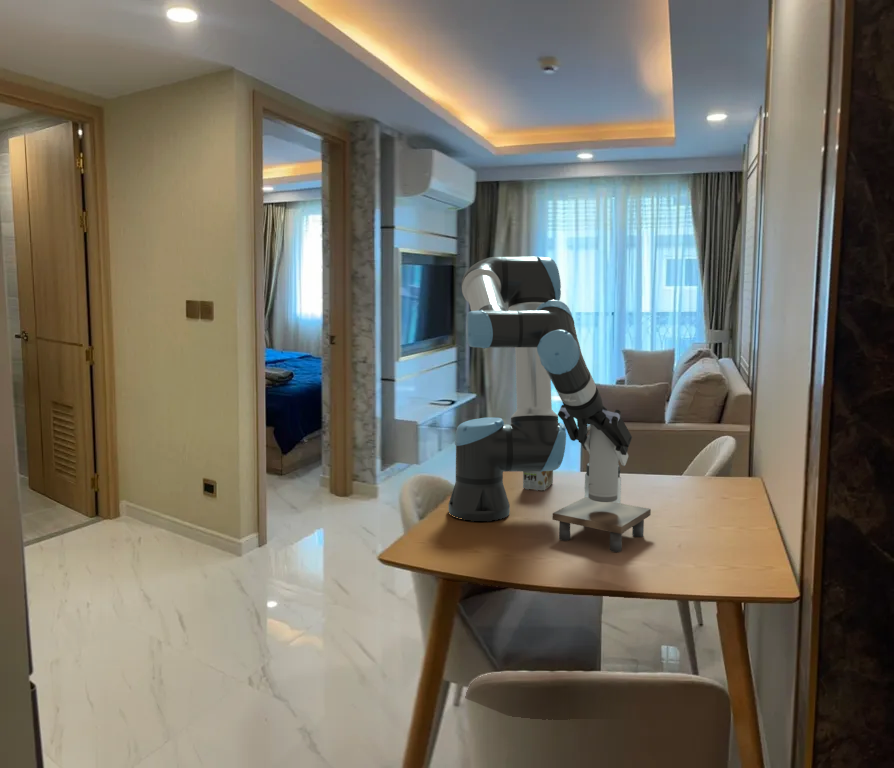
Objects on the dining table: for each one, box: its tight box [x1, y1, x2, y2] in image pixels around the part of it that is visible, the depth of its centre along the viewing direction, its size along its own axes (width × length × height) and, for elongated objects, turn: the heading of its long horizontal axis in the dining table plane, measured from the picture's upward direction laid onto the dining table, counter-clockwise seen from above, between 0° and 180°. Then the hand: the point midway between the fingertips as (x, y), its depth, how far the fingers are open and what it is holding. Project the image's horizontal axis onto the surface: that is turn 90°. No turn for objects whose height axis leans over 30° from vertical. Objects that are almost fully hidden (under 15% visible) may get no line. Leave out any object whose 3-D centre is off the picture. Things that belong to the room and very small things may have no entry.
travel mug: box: [588, 418, 619, 502], centre depth 158 cm, size 6×7×20 cm
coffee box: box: [522, 470, 554, 491], centre depth 202 cm, size 9×6×16 cm
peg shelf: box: [552, 496, 652, 553], centre depth 160 cm, size 16×16×6 cm
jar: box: [584, 462, 622, 503], centre depth 178 cm, size 9×8×12 cm
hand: (610, 458), depth 161 cm, fingers closed on travel mug, 6 cm apart
